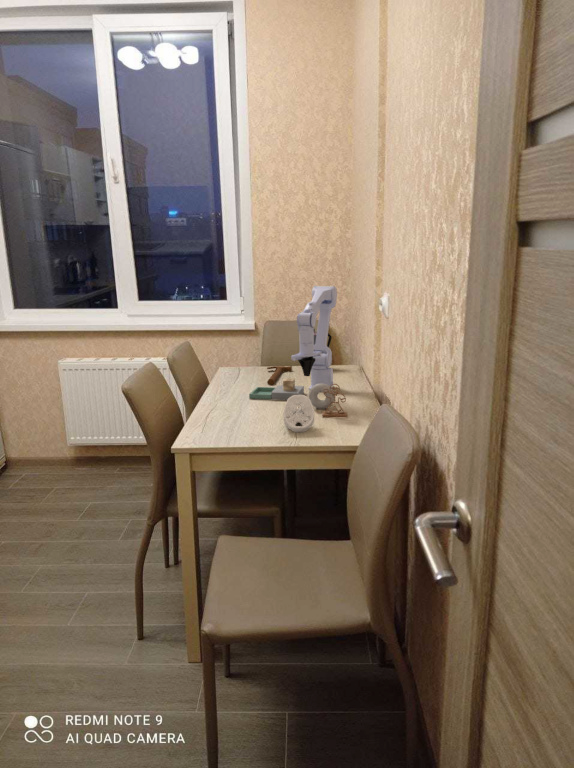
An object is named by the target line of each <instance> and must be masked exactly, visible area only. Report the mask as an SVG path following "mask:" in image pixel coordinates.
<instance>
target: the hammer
mask: <svg viewBox="0 0 574 768" xmlns="http://www.w3.org/2000/svg"><path fill="white" fill-rule="evenodd" d="M266 370H270V371H273V370H276V371H273V373H272V374H271V376H270V377H269V379H268V380H267V382H266V383H267V385H269V386H274V385H275V383H276V382H277V381H278V379H279V378H280V375H281V374H282V373H284V372H283V371H286V372H288V371H291V372H292V371H293V366H292V365H289V366H285V365H283V366H282V365H276V366H275V365H274V366H269V367H266Z"/></svg>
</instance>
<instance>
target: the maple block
mask: <svg viewBox="0 0 574 768" xmlns="http://www.w3.org/2000/svg"><path fill="white" fill-rule="evenodd" d="M295 380H296V379H295V378H284V379H283V381H282V385H283V390H287V391H293V390H294V389H295V386H296V383H295V382H296V381H295Z"/></svg>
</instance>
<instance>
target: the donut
mask: <svg viewBox="0 0 574 768" xmlns="http://www.w3.org/2000/svg"><path fill="white" fill-rule="evenodd" d="M324 389H328V390H329V392H330V390H331V391H332V390H333V391H334V389H330V386H329V385H327V384H323V383H320V384H316V385H314V386H313V387H312V388H311V389H309V392H308V398H309V399H310V400H311V403H312V406H313V408H316V409H319V410H325V409H326V410H327V408H328V406H329V405H330V398H327V397H331V402H334V396H332V394H329V393H325V395H326V396H327V397H326V396H325V395H324V396H325V398H324V399H323V400H321V399H319V397H318V395H319V394H320V393H323V391H324V392H325V391H326V392H327V391H328V390H324ZM333 391H332V392H333ZM330 393H331V392H330ZM333 394H334V392H333ZM332 405H334V404H333V403H331V405H330V406H329V408H330V407H331V406H332ZM329 408H328V409H329Z"/></svg>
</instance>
